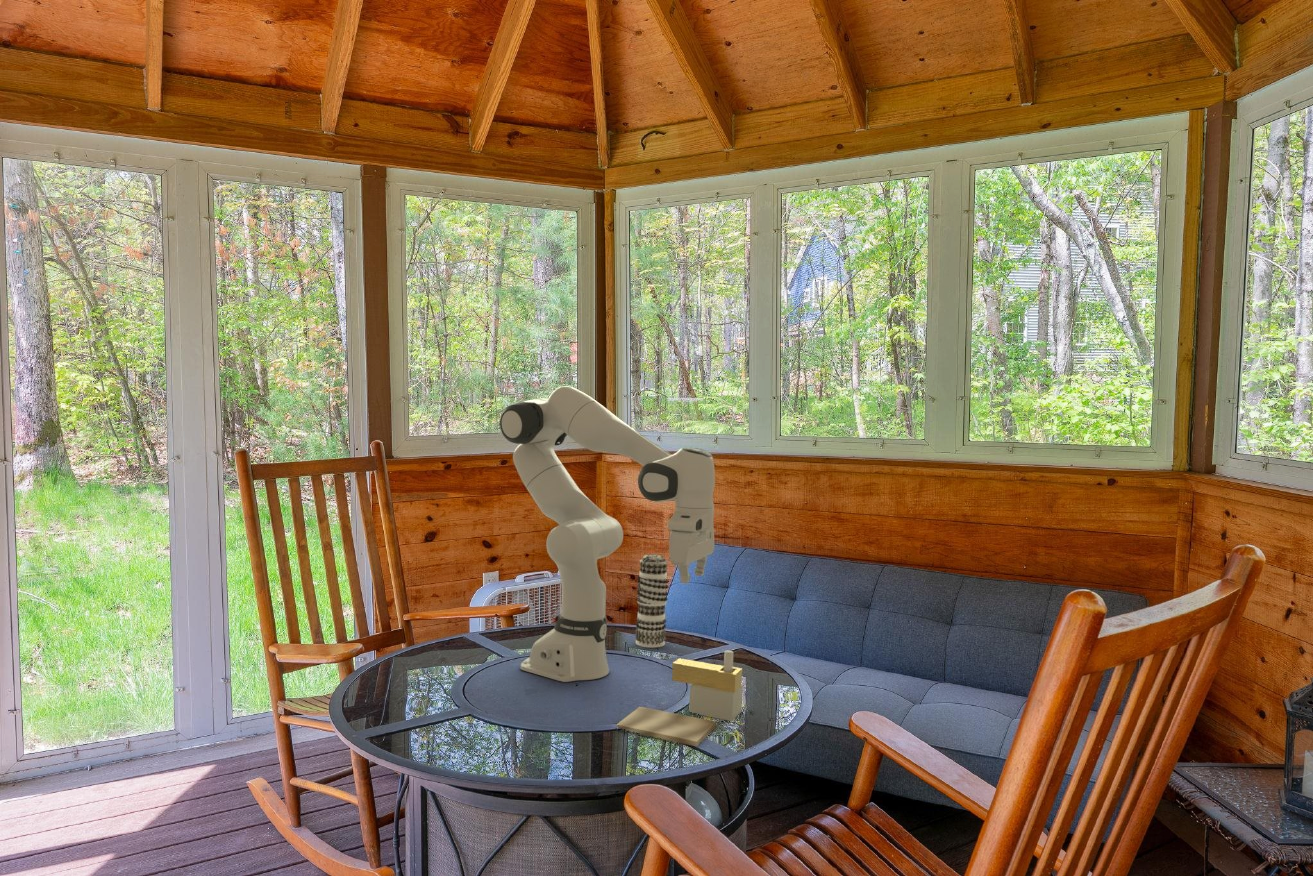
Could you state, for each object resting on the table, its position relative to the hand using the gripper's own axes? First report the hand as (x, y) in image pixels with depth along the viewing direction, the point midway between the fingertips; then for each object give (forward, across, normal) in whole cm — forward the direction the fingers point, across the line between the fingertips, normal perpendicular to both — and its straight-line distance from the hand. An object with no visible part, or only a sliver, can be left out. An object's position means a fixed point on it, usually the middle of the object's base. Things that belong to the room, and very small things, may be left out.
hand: (692, 579), depth 195 cm
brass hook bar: (+23, +3, +5) cm, 23 cm away
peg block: (+29, +3, +7) cm, 30 cm away
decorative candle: (+28, -39, -26) cm, 55 cm away
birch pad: (+29, +16, +1) cm, 33 cm away
